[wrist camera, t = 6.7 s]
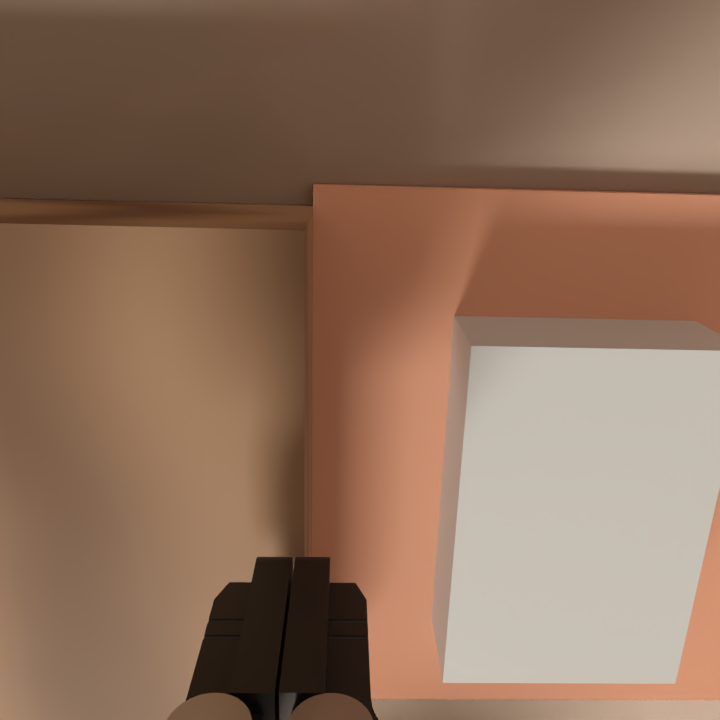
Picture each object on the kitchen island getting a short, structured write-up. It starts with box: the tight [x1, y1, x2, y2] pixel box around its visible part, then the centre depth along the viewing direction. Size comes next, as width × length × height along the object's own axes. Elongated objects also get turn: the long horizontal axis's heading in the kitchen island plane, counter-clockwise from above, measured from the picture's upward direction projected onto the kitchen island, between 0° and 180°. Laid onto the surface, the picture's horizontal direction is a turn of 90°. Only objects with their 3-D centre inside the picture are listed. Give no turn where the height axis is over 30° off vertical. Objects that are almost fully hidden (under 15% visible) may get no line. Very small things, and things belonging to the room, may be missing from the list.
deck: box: [0, 198, 313, 720], centre depth 16 cm, size 10×14×4 cm
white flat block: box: [431, 316, 720, 684], centre depth 17 cm, size 6×9×2 cm, turn 178°
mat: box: [312, 184, 720, 700], centre depth 18 cm, size 15×15×1 cm
